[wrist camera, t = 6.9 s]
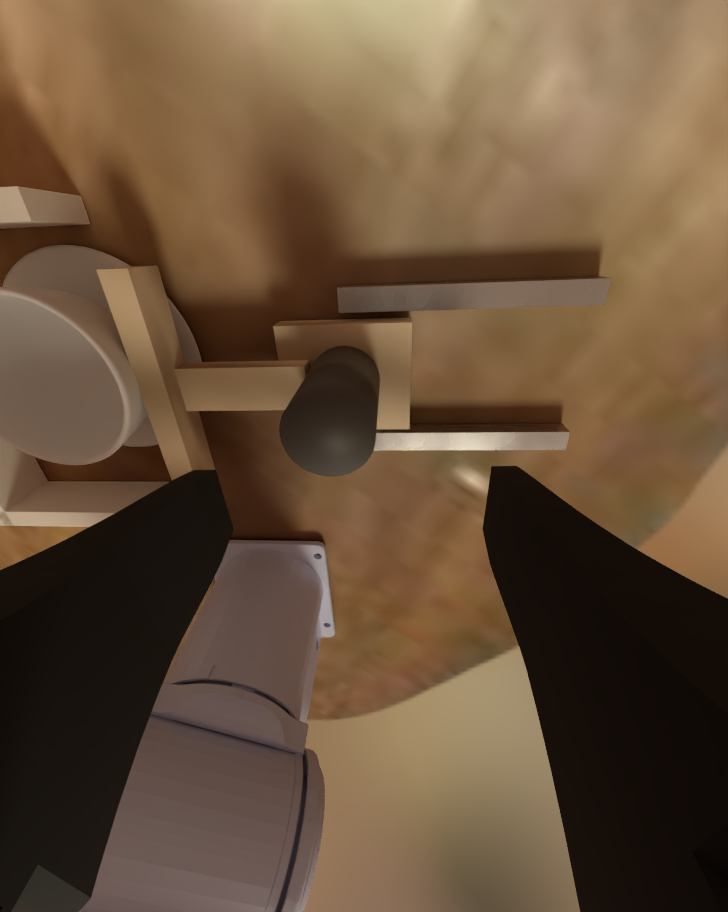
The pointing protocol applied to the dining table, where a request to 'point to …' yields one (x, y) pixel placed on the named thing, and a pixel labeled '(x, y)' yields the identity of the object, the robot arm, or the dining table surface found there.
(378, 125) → the dining table surface
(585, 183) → the dining table surface
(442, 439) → the rail
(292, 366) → the pushrod
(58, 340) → the teacup
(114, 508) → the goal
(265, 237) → the dining table surface
